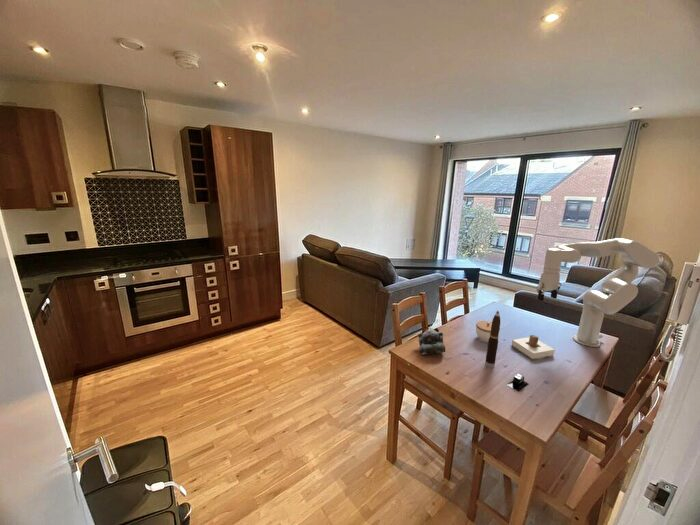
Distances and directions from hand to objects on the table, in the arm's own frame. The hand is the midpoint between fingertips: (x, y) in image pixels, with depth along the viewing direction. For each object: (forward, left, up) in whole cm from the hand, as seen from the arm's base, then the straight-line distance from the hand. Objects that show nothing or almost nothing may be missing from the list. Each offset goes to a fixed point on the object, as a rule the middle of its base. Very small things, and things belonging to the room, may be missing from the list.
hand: (546, 299), depth 163 cm
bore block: (+14, +8, -27) cm, 31 cm away
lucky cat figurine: (+69, -6, -27) cm, 74 cm away
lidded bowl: (+30, -9, -27) cm, 41 cm away
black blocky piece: (+44, +29, -27) cm, 59 cm away
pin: (+14, +8, -26) cm, 30 cm away
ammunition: (+46, +13, -27) cm, 55 cm away
